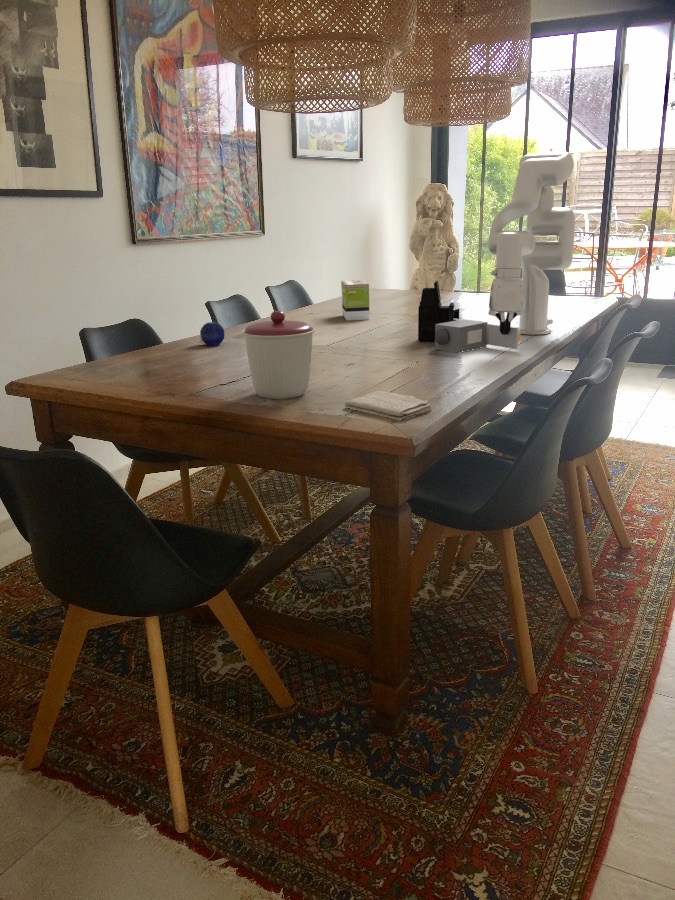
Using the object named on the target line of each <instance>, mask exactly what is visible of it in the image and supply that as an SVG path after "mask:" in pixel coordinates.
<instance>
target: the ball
mask: <svg viewBox="0 0 675 900" xmlns="http://www.w3.org/2000/svg"><path fill="white" fill-rule="evenodd" d="M199 332H200V333H199V334H200V335H199V343H200V345H202V346H205V345H207V346H209V345H210V346H209V347H214V345H217V346H219V345H221V343H222V342H224V340H225V329H224V328H223V326H222V325H221V324H220V323H218V322H215V321H211V322H206V323H204V324H203V325H202V327H200V330H199ZM202 342H203V343H202ZM200 345H199V346H200Z"/></svg>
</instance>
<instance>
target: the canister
mask: <svg viewBox="0 0 675 900" xmlns="http://www.w3.org/2000/svg"><path fill="white" fill-rule="evenodd" d="M285 318H286V315H285V312H283V311H282V310H273V311H272V312H271V314H270V319H271V320H266V321H258V322H255V323H252V324H250V325H248V326H246V328H243V329H242V330H241V335H243V336H244V341H245V347H246V353H247V359H248V365H249V372H250V377H251V381H252V385H253V388H254V391H255V393H256V395H258V396H259V397H262V398H264V397H265V398H264V399H269V398H272V400H287V398H289V399H294V398H297V397H301V396H302V395H304V394H305V393H306V391H307V390H308V387H309V383H310V382H309V381H310V374H311V362H312V351H313V350H312V348H313V334H314V333H315V332H316V328H315V327H314V326H311V325H310V323H307V322H304V321H299V320H286V319H285Z"/></svg>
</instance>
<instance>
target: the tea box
mask: <svg viewBox="0 0 675 900" xmlns="http://www.w3.org/2000/svg"><path fill="white" fill-rule="evenodd" d="M340 283H341V306H342V307H341V310H342V311H341V313H342V316H343V317H344V319H345V320H346V321H364V320H365V321H366V320H370V316H371V315H370V314H371V313H370V285H369V283H368V282H367V281H365V280H364V279H357V280H356V279H353V280H341V282H340Z"/></svg>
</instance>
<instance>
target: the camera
mask: <svg viewBox="0 0 675 900" xmlns="http://www.w3.org/2000/svg"><path fill="white" fill-rule="evenodd" d="M421 291H422V292H421V298H420V301H419V306H418V310H417V311H418V313H417V314H418V315H417V316H418V317H417V320H418V322H417V324H418V325H417V326H418V327H417V330H418V331H417V332H418V333H417V340H418V342H420V343H426V342H427V343H432V342H433V343H435V324H440V323H445V322H451V321H456V320H460V308H455V306H456V305H455V303H454V302H450V303H449V305H442V302H441V300H442V297H441V291H440V284H439V281H438V280H435V281H434V282H433V287H423V288H422V290H421Z"/></svg>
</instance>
